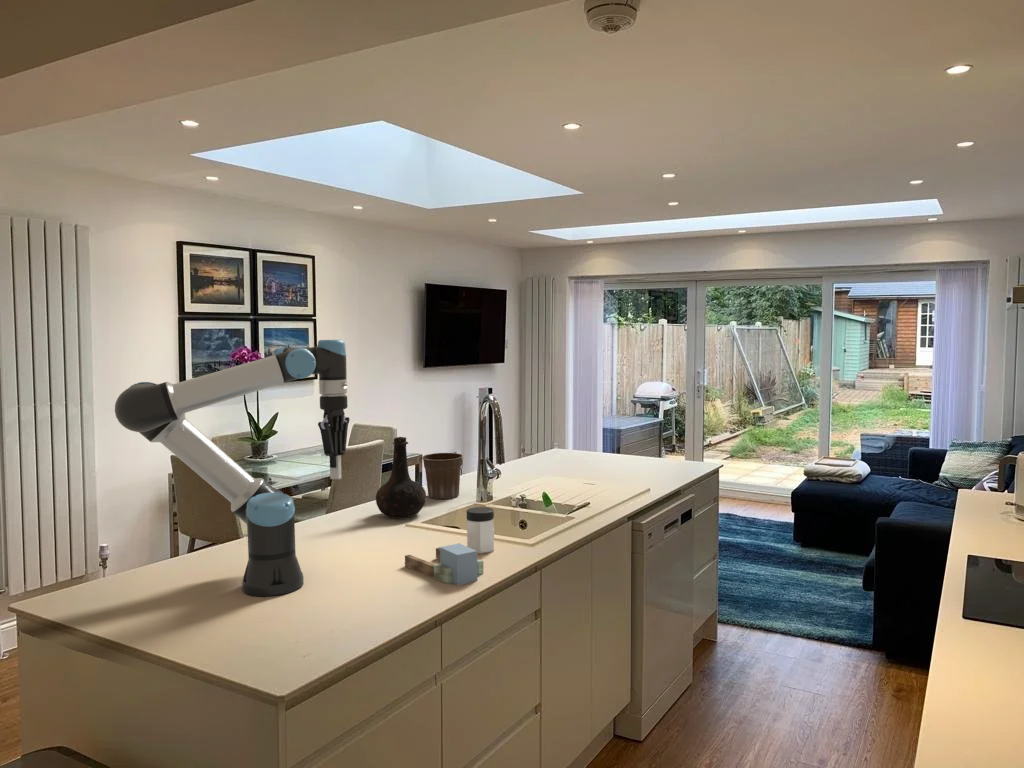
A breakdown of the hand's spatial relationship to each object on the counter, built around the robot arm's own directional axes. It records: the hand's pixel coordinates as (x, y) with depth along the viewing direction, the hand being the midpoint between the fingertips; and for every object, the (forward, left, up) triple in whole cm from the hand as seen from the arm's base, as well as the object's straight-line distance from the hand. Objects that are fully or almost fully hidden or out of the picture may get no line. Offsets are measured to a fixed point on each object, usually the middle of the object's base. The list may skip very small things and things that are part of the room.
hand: (335, 478), depth 215 cm
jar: (+24, -34, -25) cm, 48 cm away
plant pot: (+89, +6, -25) cm, 93 cm away
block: (-3, -38, -25) cm, 45 cm away
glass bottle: (+56, +8, -25) cm, 62 cm away
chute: (+3, -31, -24) cm, 40 cm away
